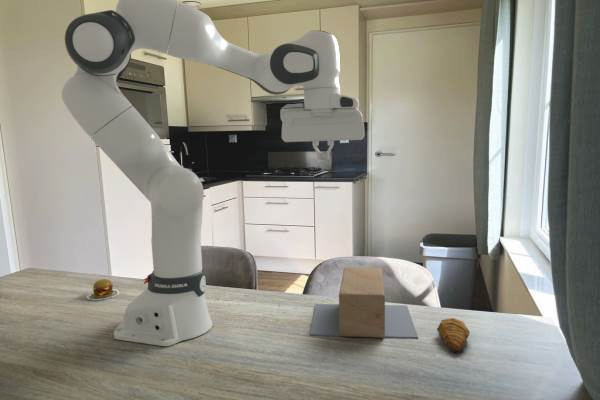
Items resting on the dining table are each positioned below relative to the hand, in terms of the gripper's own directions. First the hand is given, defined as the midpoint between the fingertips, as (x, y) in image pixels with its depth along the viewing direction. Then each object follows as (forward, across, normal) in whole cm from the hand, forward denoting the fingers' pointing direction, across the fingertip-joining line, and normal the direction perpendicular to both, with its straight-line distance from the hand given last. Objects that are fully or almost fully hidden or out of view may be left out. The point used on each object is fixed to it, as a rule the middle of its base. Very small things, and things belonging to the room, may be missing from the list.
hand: (323, 159), depth 103 cm
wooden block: (+34, +9, -15) cm, 38 cm away
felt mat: (+39, +9, -5) cm, 40 cm away
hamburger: (+40, -67, +8) cm, 79 cm away
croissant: (+40, +28, -14) cm, 51 cm away
